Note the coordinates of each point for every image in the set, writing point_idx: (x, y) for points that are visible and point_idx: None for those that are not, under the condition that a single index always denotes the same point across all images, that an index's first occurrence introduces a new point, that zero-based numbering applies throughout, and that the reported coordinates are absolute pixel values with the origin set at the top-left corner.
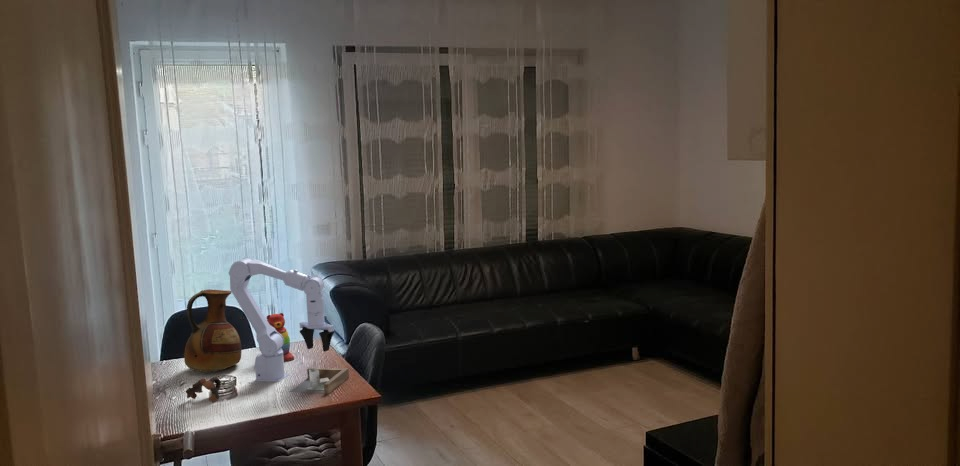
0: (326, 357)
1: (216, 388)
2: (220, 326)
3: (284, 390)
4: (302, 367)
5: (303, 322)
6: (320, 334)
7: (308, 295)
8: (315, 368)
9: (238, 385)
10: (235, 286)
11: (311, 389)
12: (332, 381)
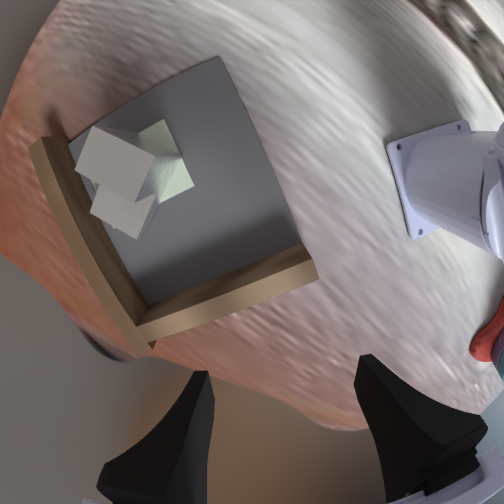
0: None
1: None
2: None
3: (268, 67)
4: (415, 324)
5: (483, 501)
6: (149, 479)
7: None
8: (129, 190)
9: (470, 70)
10: None
11: (143, 130)
12: (44, 189)
